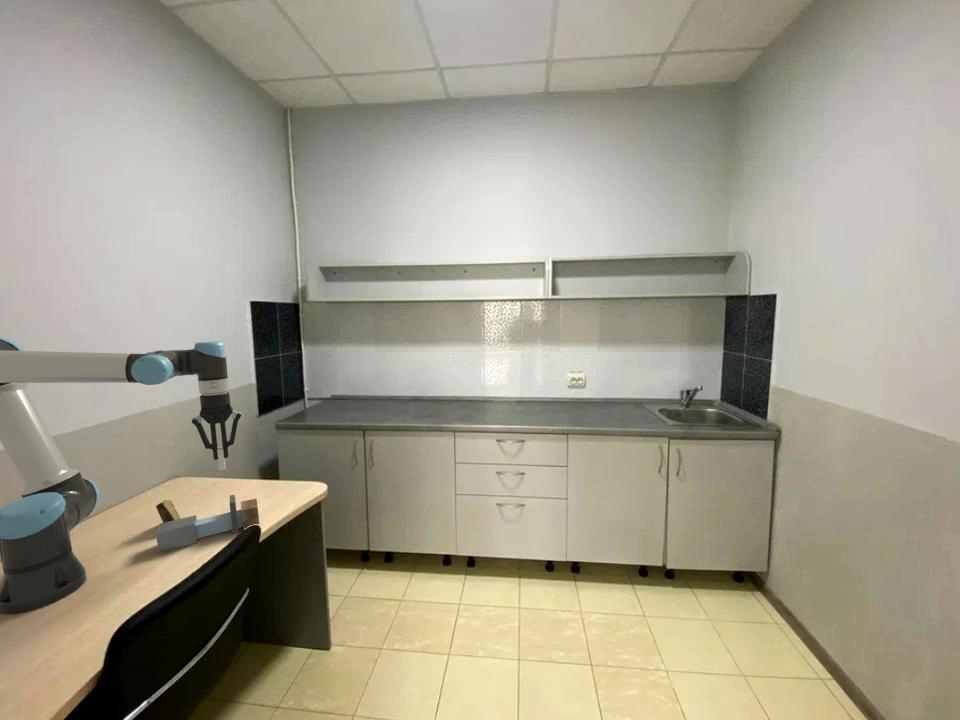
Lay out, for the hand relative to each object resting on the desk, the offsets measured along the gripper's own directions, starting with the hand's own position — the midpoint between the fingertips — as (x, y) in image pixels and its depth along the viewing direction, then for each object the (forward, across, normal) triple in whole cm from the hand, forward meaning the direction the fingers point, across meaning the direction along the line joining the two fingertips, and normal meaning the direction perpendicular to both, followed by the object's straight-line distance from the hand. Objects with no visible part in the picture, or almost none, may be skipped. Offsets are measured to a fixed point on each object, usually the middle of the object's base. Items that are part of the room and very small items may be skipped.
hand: (222, 468), depth 127 cm
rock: (+21, -15, +14) cm, 29 cm away
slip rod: (+20, -3, 0) cm, 20 cm away
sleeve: (+20, -12, 0) cm, 24 cm away
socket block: (+20, +6, 0) cm, 21 cm away
